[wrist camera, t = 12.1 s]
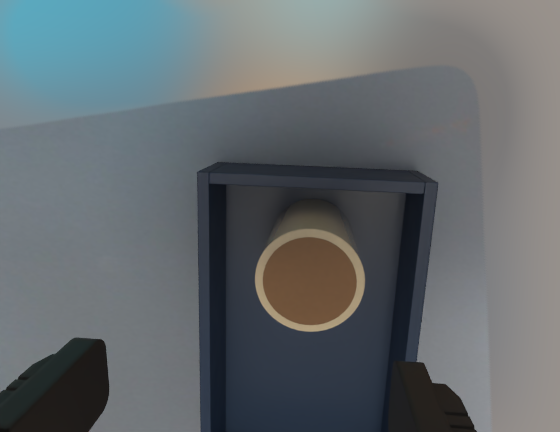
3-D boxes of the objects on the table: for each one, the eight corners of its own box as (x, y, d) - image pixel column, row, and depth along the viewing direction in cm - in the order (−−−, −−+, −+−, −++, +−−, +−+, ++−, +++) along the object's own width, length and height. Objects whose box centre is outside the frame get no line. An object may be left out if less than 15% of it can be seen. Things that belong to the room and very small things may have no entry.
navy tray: (217, 162, 34) (196, 171, 28) (417, 170, 32) (438, 182, 27) (218, 435, 40) (201, 488, 34) (386, 451, 38) (398, 509, 33)
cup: (309, 181, 33) (306, 206, 24) (370, 237, 33) (389, 281, 25) (254, 240, 34) (232, 283, 26) (314, 293, 35) (312, 352, 26)
